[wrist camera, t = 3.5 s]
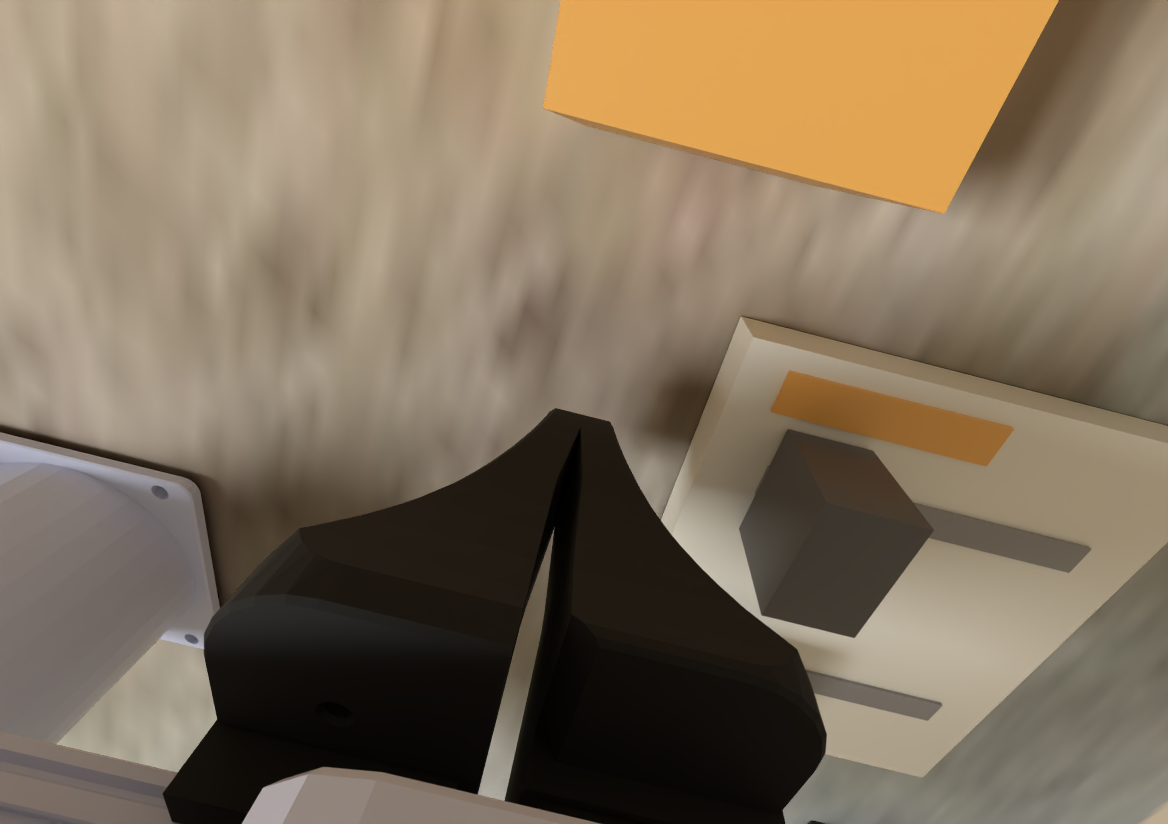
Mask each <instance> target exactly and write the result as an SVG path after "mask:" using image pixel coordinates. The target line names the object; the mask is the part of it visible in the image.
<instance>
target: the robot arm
mask: <svg viewBox="0 0 1168 824" xmlns="http://www.w3.org/2000/svg"><path fill="white" fill-rule="evenodd" d="M554 527H555V529H554ZM553 530H554V537H553V545H552V554H551V562H550V571H549V579H548V588H547V597H546V605H545V614H544V620H543V626H542V632H541V637H540V642H539V647H538V651H537V656H536V660H535V665H534V670H533V674H532V679H531V684H530V688H529V693H528V697H527V702H526V706H525V711H524V716H523V720H522V725H521V729H520V734H519V738H518V743H517V747H516V752H515V756H514V761H513V765H512V770H511V774H510V779H509V783H508V788H507V792H506V797H505V801H502V800H498V799H494V798H489V797H485V796H481V795H478V791H479V787H480V783H481V779H482V775H483V771H484V767H485V763H486V759H487V755H488V751H489V747H490V743H491V739H492V735H493V731H494V727H495V723H496V719H497V715H498V711H499V707H500V703H501V700H502V696H503V692H504V688H505V684H506V680H507V676H508V672H509V668H510V664H511V660H512V656H513V652H514V648H515V644H516V640H517V636H518V632H519V628H520V625H521V622H522V618H523V615H524V612H525V609H526V606H527V603H528V600H529V597H530V595H531V592H532V589H533V586H534V583H535V581H536V578H537V575H538V572H539V569H540V566H541V564H542V561H543V558H544V555H545V552H546V550H547V547H548V544H549V541H550V538H551V535H552V533H553ZM159 639H163V640H167V641H171V642H175V643H179V644H184V645H188V646H192V647H196V648H200V649H204V657H205V662H206V667H207V672H208V676H209V681H210V686H211V691H212V696H213V701H214V705H215V710H216V715H217V721H216V722H215V723H214V725H213V726H212V727H211V729H210V730H209V731H208V733H207V734H206V735H205V737H204V738H203V739H202V741H201V742H200V743H199V745H198V746H197V748H196V749H195V750H194V752H193V753H192V754H191V756H190V757H189V758H188V760H187V761H186V762H185V764H184V765H183V766H182V768H181V769H180V770H179V772H178V773H176V772H172V771H168V770H163V769H159V768H155V767H151V766H146V765H142V764H138V763H134V762H129V761H125V760H121V759H116V758H112V757H108V756H104V755H99V754H95V753H91V752H87V751H82V750H78V749H74V748H69V747H65V746H61V745H57V743H58V742H59V741H60V740H61V739H62V738H63V737H64V736H65V735H66V734H67V733H68V732H69V731H70V730H71V728H72V727H73V726H74V725H75V724H76V723H77V722H78V721H79V720H80V719H81V718H82V717H83V716H84V715H85V714H86V713H87V712H88V711H89V710H90V709H91V708H92V707H93V706H94V705H95V704H96V703H97V702H98V701H99V700H100V699H101V698H102V697H103V696H104V695H105V694H106V693H107V692H108V691H109V690H110V689H111V688H112V687H113V686H114V685H115V684H116V683H117V682H118V681H119V679H120V678H121V677H122V676H123V675H124V674H125V673H126V672H127V671H128V670H129V669H130V668H131V667H132V666H133V665H134V664H135V663H136V662H137V661H138V660H139V659H140V658H141V657H142V656H143V655H144V654H145V653H146V652H147V651H148V650H149V649H150V648H151V647H152V646H153V645H154V644H155V643H156V642H157V641H158V640H159ZM826 740H827V733H826V730H825V727H824V724H823V720H822V717H821V714H820V711H819V708H818V704H817V701H816V697H815V694H814V691H813V688H812V685H811V682H810V680H809V677H808V675H807V672H806V670H805V667H804V665H803V662H802V660H801V657H800V655H799V652H798V650H797V649H796V648H795V647H794V646H793V645H791V644H790V643H789V642H787V641H786V640H785V639H784V638H782V637H781V636H780V635H778V634H777V633H776V632H775V631H773V630H772V629H771V628H769V627H768V626H767V625H765V624H764V623H763V622H762V621H760V620H759V619H758V618H756V617H755V616H754V615H753V614H751V613H750V612H749V611H747V610H746V609H745V608H744V607H743V606H741V605H740V604H739V603H738V602H737V601H736V600H735V599H734V598H733V597H731V596H730V595H729V594H728V593H727V592H726V591H725V590H724V589H723V588H721V587H720V586H719V585H718V584H717V583H716V582H715V581H714V580H713V579H712V578H711V577H710V576H709V575H708V574H707V573H706V572H705V571H704V570H703V569H702V568H701V567H700V566H699V565H698V564H697V563H696V562H695V561H694V560H693V559H692V557H691V556H690V555H689V554H688V553H687V552H686V551H685V550H684V549H683V548H682V547H681V545H680V544H679V543H678V542H677V541H676V539H675V538H674V537H673V536H672V535H671V533H670V532H669V531H668V529H667V528H666V527H665V525H664V524H663V523H662V521H661V520H660V519H659V517H658V516H657V515H656V513H655V512H654V511H653V509H652V508H651V506H650V504H649V503H648V501H647V499H646V498H645V496H644V494H643V493H642V491H641V489H640V487H639V486H638V484H637V482H636V480H635V478H634V476H633V474H632V472H631V470H630V468H629V466H628V464H627V462H626V460H625V457H624V455H623V453H622V450H621V448H620V445H619V443H618V440H617V438H616V435H615V432H614V429H613V426H612V425H611V423H610V422H609V421H605V420H601V419H597V418H593V417H589V416H585V415H581V414H577V413H573V412H569V411H565V410H561V409H557V408H555V409H554V410H552V411H550V412H549V413H548V415H547V416H546V417H545V418H544V419H543V420H542V421H541V422H540V423H539V424H538V425H537V426H536V427H535V428H534V429H533V430H532V431H531V432H530V433H528V434H527V435H526V436H525V437H524V438H522V439H521V440H520V441H519V442H518V443H516V444H515V445H514V446H513V447H511V448H510V449H509V450H507V451H506V452H504V453H503V454H501V455H500V456H499V457H497V458H496V459H494V460H493V461H491V462H490V463H488V464H487V465H485V466H484V467H482V468H480V469H479V470H477V471H475V472H474V473H472V474H470V475H468V476H466V477H465V478H463V479H461V480H459V481H457V482H455V483H453V484H451V485H449V486H446V487H444V488H442V489H439V490H437V491H434V492H432V493H430V494H427V495H425V496H423V497H420V498H417V499H414V500H411V501H408V502H406V503H403V504H400V505H397V506H393V507H390V508H386V509H383V510H380V511H376V512H373V513H369V514H365V515H361V516H357V517H352V518H348V519H343V520H338V521H334V522H329V523H324V524H320V525H315V526H310V527H304V528H299V529H298V530H297V531H296V532H295V533H294V534H293V535H292V536H291V537H290V538H289V539H287V540H286V541H285V542H284V543H283V544H282V545H280V546H279V547H278V548H277V549H276V550H275V551H273V552H272V553H271V554H270V555H269V556H268V557H267V558H266V559H265V560H264V561H263V562H262V563H261V564H260V565H259V566H258V567H257V568H256V570H255V571H254V572H253V573H252V574H251V575H250V576H249V577H248V578H247V579H246V580H245V582H244V583H243V584H242V585H241V586H240V587H239V588H238V589H237V590H236V591H235V593H234V594H233V595H232V596H231V597H230V598H229V599H228V600H227V601H226V602H225V603H224V605H223V606H222V607H221V608H220V606H219V600H218V594H217V588H216V582H215V576H214V571H213V565H212V559H211V553H210V547H209V541H208V535H207V529H206V523H205V517H204V511H203V505H202V499H201V493H200V490H199V488H198V487H197V485H196V484H195V483H194V482H192V481H191V480H189V479H187V478H184V477H181V476H176V475H172V474H168V473H164V472H160V471H156V470H152V469H148V468H144V467H140V466H136V465H132V464H127V463H123V462H119V461H115V460H111V459H107V458H103V457H99V456H95V455H91V454H87V453H83V452H79V451H74V450H70V449H66V448H62V447H58V446H54V445H50V444H46V443H42V442H38V441H34V440H30V439H25V438H21V437H17V436H13V435H9V434H5V433H1V432H0V824H785V820H784V816H783V811H782V810H783V809H784V808H785V806H786V805H787V804H788V803H789V802H790V800H791V799H792V798H793V797H794V796H795V794H796V793H797V792H798V791H799V790H800V788H801V787H802V786H803V785H804V784H805V782H806V781H807V780H808V779H809V778H810V777H811V775H812V774H813V773H814V772H815V770H816V769H817V767H818V765H819V763H820V762H821V760H822V758H823V756H824V755H825V753H826Z"/></svg>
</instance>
